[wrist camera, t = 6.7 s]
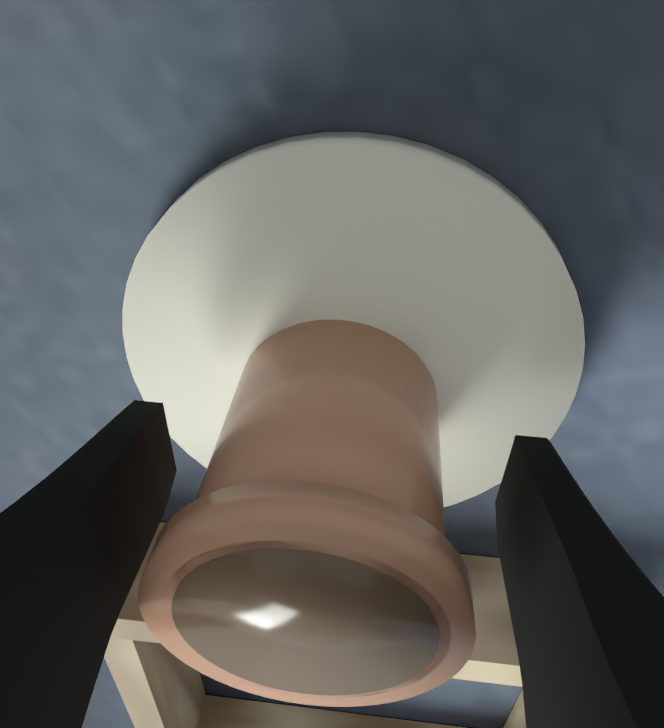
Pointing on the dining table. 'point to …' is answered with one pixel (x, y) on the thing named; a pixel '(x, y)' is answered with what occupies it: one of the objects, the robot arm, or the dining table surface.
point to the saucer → (360, 289)
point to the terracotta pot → (318, 531)
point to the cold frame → (284, 722)
